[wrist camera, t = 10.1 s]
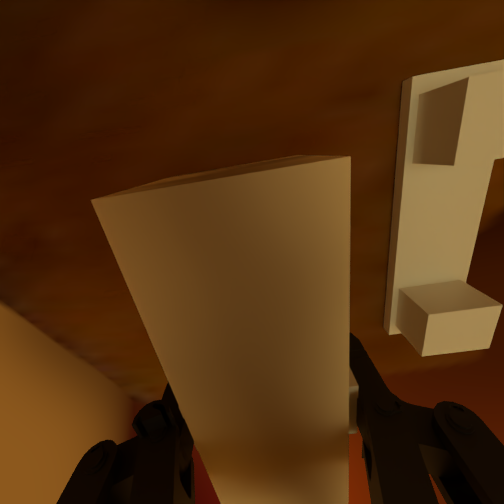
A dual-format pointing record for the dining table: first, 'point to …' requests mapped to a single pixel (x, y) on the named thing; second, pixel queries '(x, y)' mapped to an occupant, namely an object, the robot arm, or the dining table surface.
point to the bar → (249, 317)
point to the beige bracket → (443, 207)
